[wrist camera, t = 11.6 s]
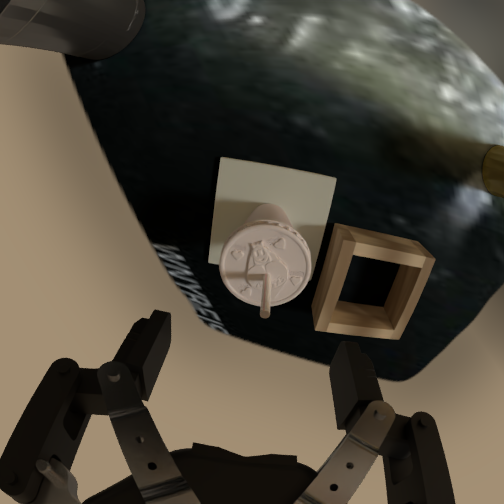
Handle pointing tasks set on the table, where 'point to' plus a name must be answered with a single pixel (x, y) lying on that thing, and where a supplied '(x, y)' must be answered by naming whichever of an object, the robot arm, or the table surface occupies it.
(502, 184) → the vase
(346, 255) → the sleeve
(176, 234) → the table surface
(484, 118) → the table surface
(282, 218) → the smoothie
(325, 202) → the mat
